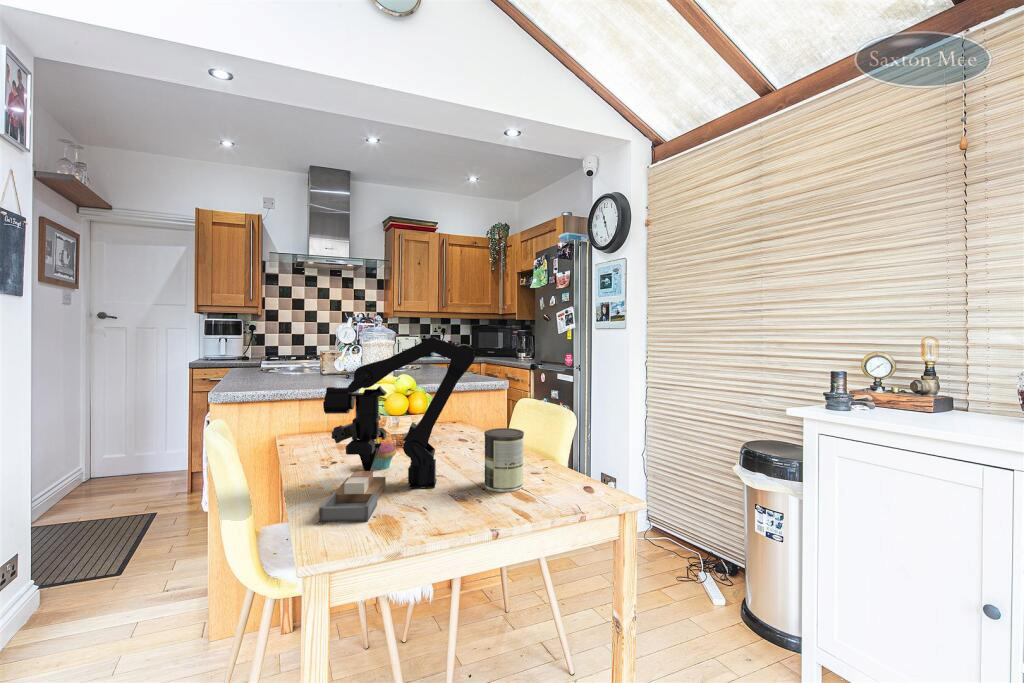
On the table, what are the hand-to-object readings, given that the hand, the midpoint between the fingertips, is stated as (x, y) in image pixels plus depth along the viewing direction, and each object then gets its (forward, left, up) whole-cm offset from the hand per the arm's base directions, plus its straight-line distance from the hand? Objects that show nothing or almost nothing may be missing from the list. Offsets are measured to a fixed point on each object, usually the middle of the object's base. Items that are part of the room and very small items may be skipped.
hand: (367, 473), depth 125 cm
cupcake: (0, -18, -4) cm, 18 cm away
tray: (0, +19, -3) cm, 19 cm away
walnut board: (0, +7, -3) cm, 8 cm away
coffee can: (-35, +2, -4) cm, 35 cm away
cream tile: (0, +11, -1) cm, 11 cm away
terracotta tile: (0, +6, -1) cm, 6 cm away
